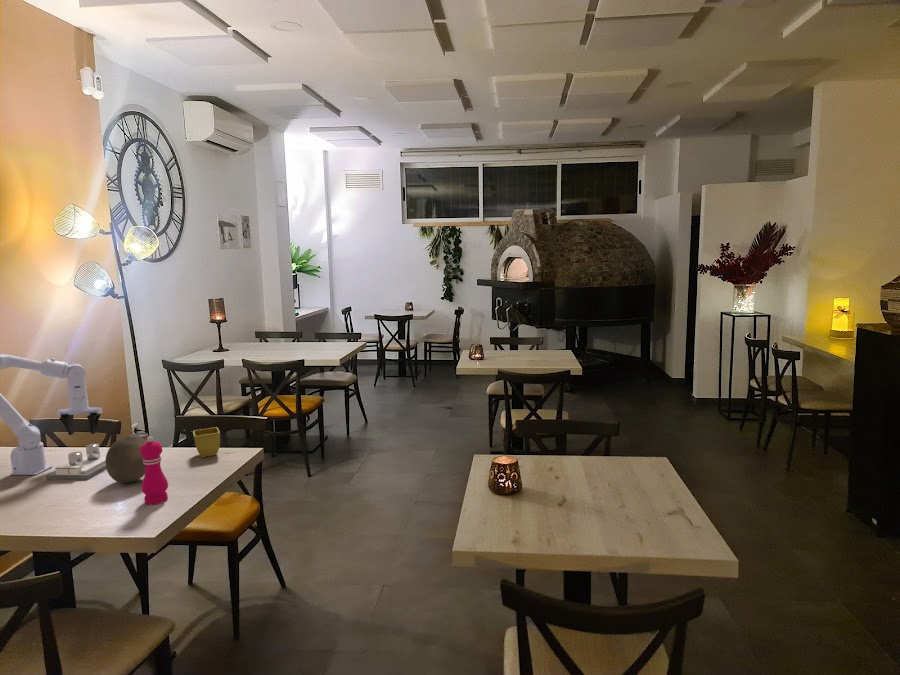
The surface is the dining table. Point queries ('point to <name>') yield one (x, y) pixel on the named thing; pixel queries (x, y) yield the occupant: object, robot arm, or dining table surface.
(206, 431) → the flower pot
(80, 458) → the cylinder
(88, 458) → the cylinder
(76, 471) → the scale
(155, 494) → the pepper mill
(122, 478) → the cantaloupe
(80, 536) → the dining table surface
